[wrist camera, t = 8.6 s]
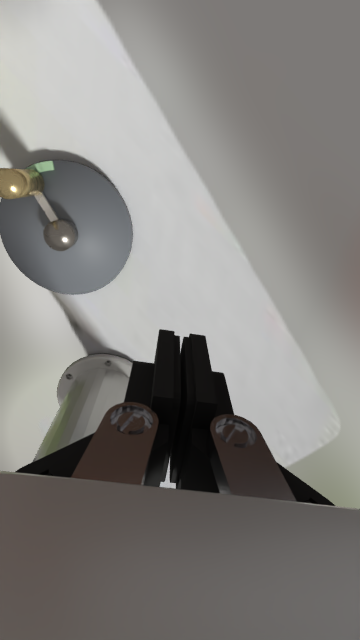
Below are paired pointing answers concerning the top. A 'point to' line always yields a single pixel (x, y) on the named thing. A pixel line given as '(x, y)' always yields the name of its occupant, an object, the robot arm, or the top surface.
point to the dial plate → (85, 213)
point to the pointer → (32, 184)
